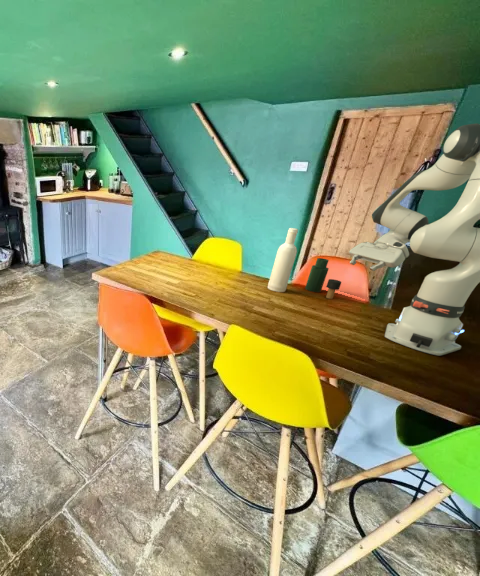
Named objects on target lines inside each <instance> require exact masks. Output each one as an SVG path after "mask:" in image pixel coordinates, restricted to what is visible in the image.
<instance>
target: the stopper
mask: <svg viewBox="0 0 480 576" xmlns="http://www.w3.org/2000/svg"><path fill="white" fill-rule="evenodd" d="M341 285H342V281H340V280H338V279H332V278H329V279H327V283H326V286H325V287H326V288H327V292H326V295H325V298H326V299H330V300H333V298H334V295H335V293H336V291H339V290H340V288H341Z"/></svg>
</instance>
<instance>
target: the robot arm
mask: <svg viewBox="0 0 480 576" xmlns="http://www.w3.org/2000/svg"><path fill="white" fill-rule="evenodd" d="M442 153H443V154H441V156H439V158H438V159H437V161H436V162H435V163H434V164H433V165H432V166H431V167H429V168H428V169H423V170H419V171H417V172H416V173H414V174H413V175H412V176H410V177H409V178H408V179H407V180H406V181H405V182H404V183H403V184H402V185H400V186H399V187H398V188H397V189H396V190H395V191H394V192H393V193H392V194H391V195H389V197H388V198H387V199H386V200H385V201H384V202H383V203H381V204H380V205H378V206H377V207H376V208H375V209H374V210H373V212H372V214H371V218H372V222H373V223H375V224H377V225H380V226H383V227H385V228H387V229H389V230H388V231H387V232H386V233H384V234H382V235H381V236H380V237H379V238H377V240H375V241H374V242H370V241H365V242H360V243H358V244H356V245H355V246H354V247H352V248H351V249H350V250H349V252H348V253H349V255H350V257H351V260H350V261H349V264H350V265H351V266H354V265H356V264H357V261H358V260H362V261H366V262H368V263H373V264H375V265H373V264H372V265H371V266H370V267H369V270H370V271H373V272H375V271H377V270H379V269H382V268H384V267H388V268H392V269H394V268H397V267H399V266H400V265H401V264H403V262H405V260H406V259H407V258H408V257H409V256H410V252H409V249H408V247H407V245H406V244H407V243H409V248H410V249H411V251H412V252H413V253H414V254H418V255H420V256H424V257H427V258H431V259H438V260H445V261H451V262H459V263H458V264H457V265H456V266H454V267H452V268H449V269H442V270H436V271H434V272H431V273H429V274H427V275H426V276H424V279H423V280H422V283H421V285H420V287H419V290H418V292H417V294H415V295H414V296H413V298H412V299H411V302H410V303H409V304H410V305H409V306H405V307H403V308H402V311H401V313H400V315H399V317H398V318H395V319H394V322H395V323H388V324H387V325H386V327H385V332H384V338H386V339H388V340H390V341H392V342H395V343H397V344H400V345H402V346H405V347H407V348H409V349H410V348H411V349H412V350H416V351H419V352H422V353H425V354H429V355H434V356H437V357H441V356H445V355H448V354H451V353H453V352H454V353H455V352H457V351H460V350H461V349H462V345H461V344H458V343H456V341H457V338H458V337H459V335H460V334H462V333H464V332H465V329H463V327H464V323H463V322H462V321H461V320H460V317H461V316H462V314H463V313H464V311H465V308H466V306H465V304H466V303H467V300H468V299H469V297H470V295H471V294H472V293H473V291H474V290H475V288H476V287H477V286H478V284H480V227H474V226H475V224H476V223H477V222H478V221H480V123H470V124H463V125H461V126H458V127H457V128H456V129H454V130H453V131H452V132H451V133H450V134H449V135H448V136H447V138H446V139H445V141H444V143H443V146H442ZM466 182H467V183H466ZM465 183H466V185H465V187H464V190H463V192H462V193H461V196H460V197H459V199H458V201H457V203H456V204H455V206H453V208H452V209H451V210H450V211H448V213H447V214H445V215H444V216H442V217H441V218H439V219H437V220H435V221H433V222H431V223H429V218H428V216H426V215H425V214H422V213H420V212H418V211H416V210H412V209H410V208H408V207H406V206H404V205H401V202H402V201H403V200H404V199H405V198H406V197H407V196H408V195H409V194H410V193H412V192H413V191H418V190H419V191H420V190H422V191H423V190H424V191H449V190H452V189H456V188H458V187H460V186H462V185H463V184H465Z"/></svg>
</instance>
